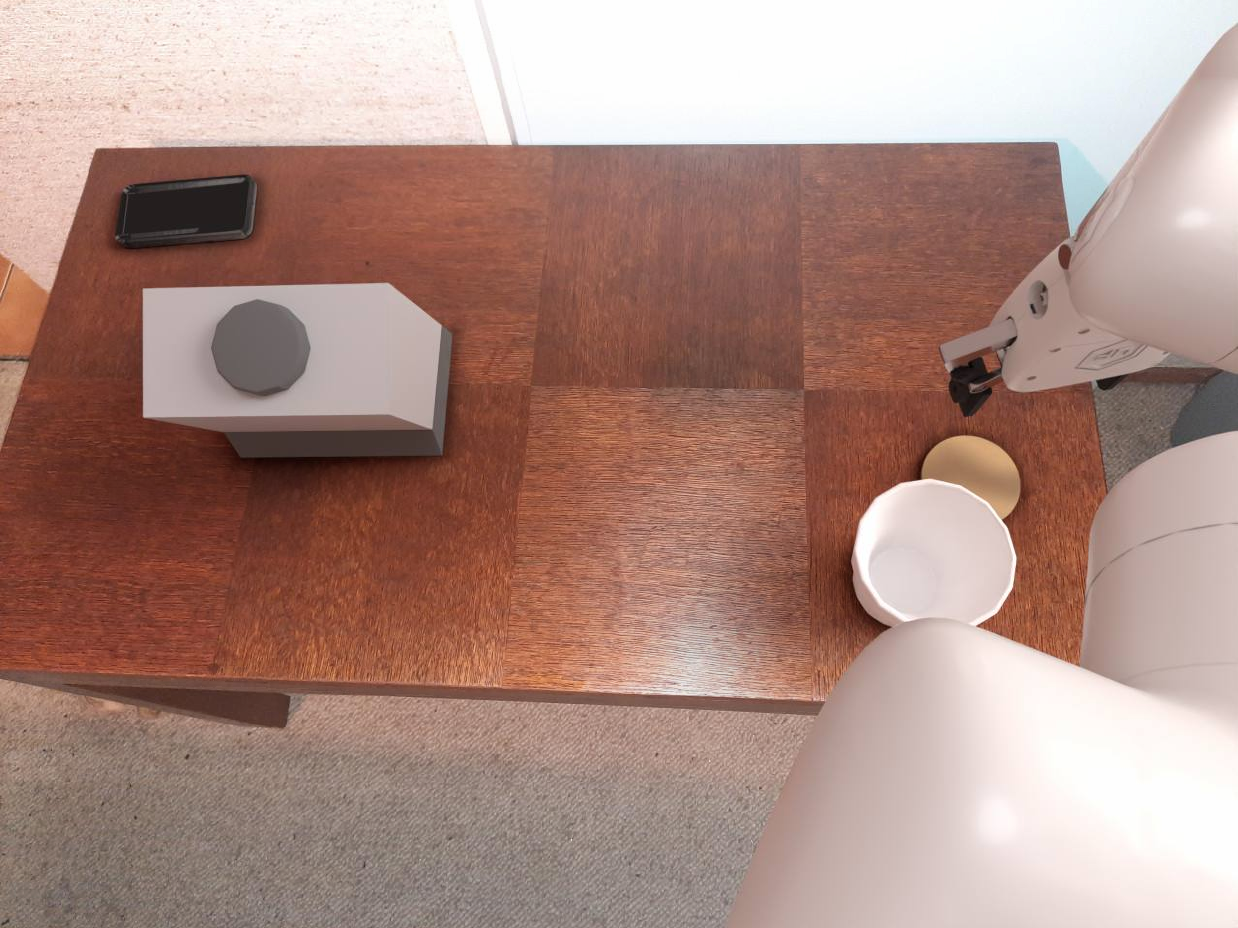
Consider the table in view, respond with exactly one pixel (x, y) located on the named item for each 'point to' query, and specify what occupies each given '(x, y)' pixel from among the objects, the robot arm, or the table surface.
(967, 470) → the coaster
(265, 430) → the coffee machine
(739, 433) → the table surface
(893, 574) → the cup
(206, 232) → the phone
